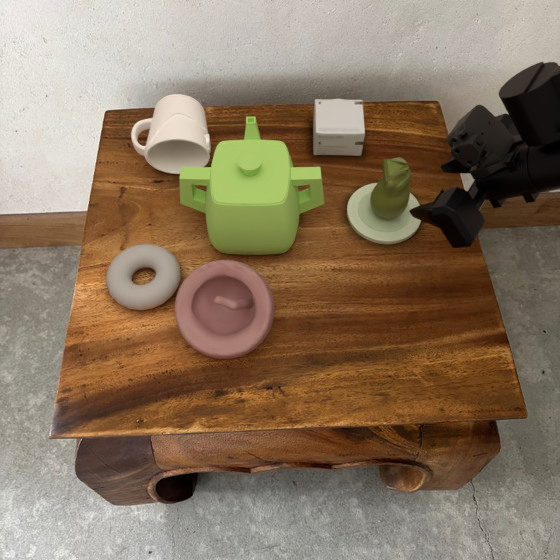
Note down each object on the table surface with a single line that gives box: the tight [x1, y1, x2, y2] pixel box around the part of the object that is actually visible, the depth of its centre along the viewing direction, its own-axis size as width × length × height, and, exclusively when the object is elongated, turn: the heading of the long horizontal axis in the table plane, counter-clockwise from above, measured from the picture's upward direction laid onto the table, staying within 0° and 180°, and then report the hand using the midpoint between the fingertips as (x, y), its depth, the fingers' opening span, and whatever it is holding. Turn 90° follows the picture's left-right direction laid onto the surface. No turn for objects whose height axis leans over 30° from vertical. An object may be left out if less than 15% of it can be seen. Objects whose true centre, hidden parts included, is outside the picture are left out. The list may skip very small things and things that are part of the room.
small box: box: [312, 98, 366, 157], centre depth 87 cm, size 8×8×5 cm
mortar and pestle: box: [174, 259, 276, 360], centre depth 67 cm, size 12×12×12 cm
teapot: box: [178, 116, 325, 256], centre depth 76 cm, size 18×20×13 cm
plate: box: [346, 182, 422, 245], centre depth 81 cm, size 11×11×1 cm
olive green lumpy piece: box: [370, 156, 412, 219], centre depth 76 cm, size 6×5×10 cm
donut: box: [105, 243, 182, 311], centre depth 74 cm, size 10×4×10 cm
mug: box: [130, 93, 212, 175], centre depth 85 cm, size 12×9×8 cm
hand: (427, 190), depth 73 cm, fingers open, 9 cm apart
